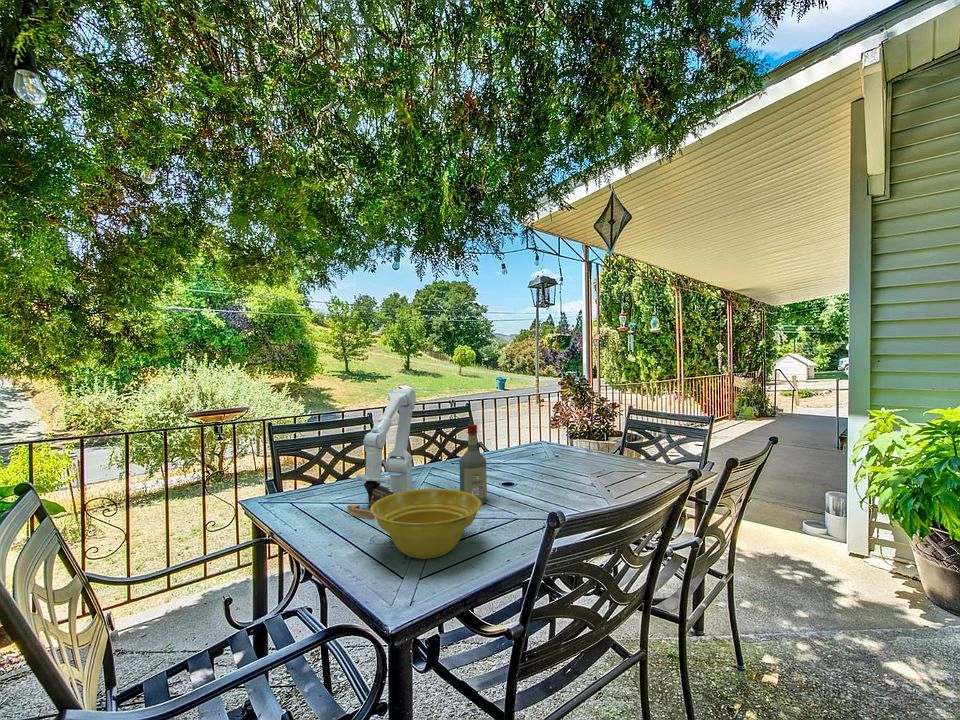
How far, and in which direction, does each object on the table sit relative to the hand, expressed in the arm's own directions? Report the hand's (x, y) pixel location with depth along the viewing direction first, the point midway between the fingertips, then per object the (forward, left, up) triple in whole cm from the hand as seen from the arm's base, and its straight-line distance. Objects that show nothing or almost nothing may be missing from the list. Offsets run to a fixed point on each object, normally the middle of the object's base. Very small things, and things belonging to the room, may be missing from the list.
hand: (372, 501), depth 162 cm
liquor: (-21, +32, -3) cm, 38 cm away
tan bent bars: (-2, +7, -3) cm, 8 cm away
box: (-1, +2, -3) cm, 4 cm away
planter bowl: (+22, +36, -3) cm, 42 cm away
